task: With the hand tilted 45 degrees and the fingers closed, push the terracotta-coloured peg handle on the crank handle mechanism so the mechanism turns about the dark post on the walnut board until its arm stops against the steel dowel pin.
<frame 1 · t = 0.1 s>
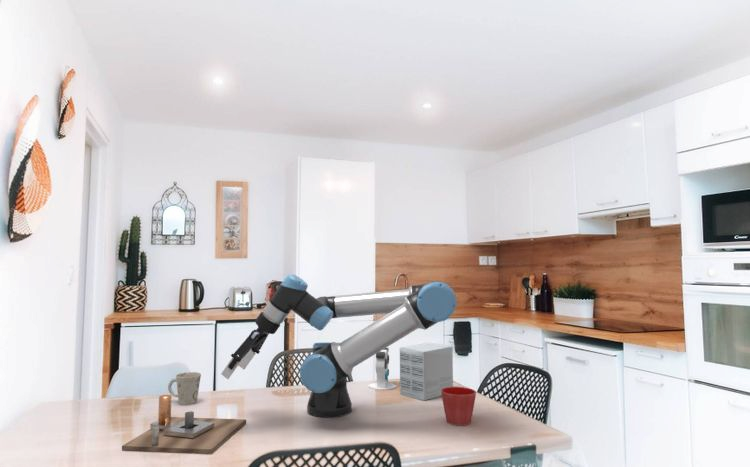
hand: (233, 371, 156), 15 cm above the table, tool tilted 35°, fingers open, 13 cm apart
mug: (182, 402, 176), on the table
post board: (188, 435, 141), on the table
flower pot: (458, 422, 154), on the table
white grey upright piece: (382, 387, 198), on the table
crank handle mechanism: (178, 413, 142), point 6 cm above the table, hinge at 0.0°
gray vented cabinet: (426, 394, 188), on the table
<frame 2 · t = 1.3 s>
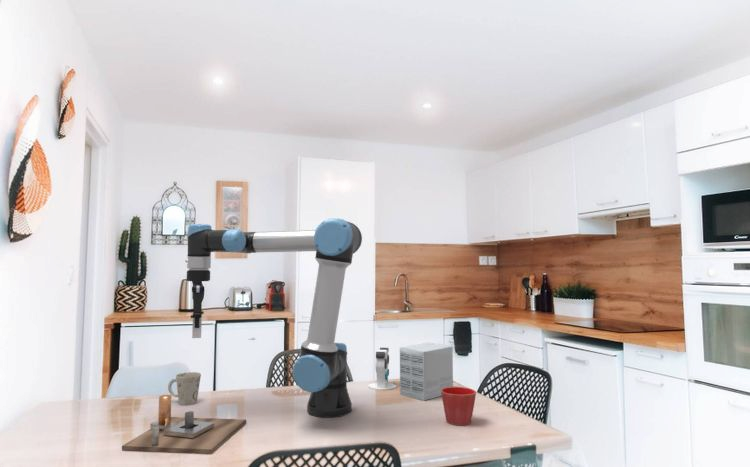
hand: (196, 335, 163), 26 cm above the table, tool pointing down, fingers open, 10 cm apart
nothing on the table moved.
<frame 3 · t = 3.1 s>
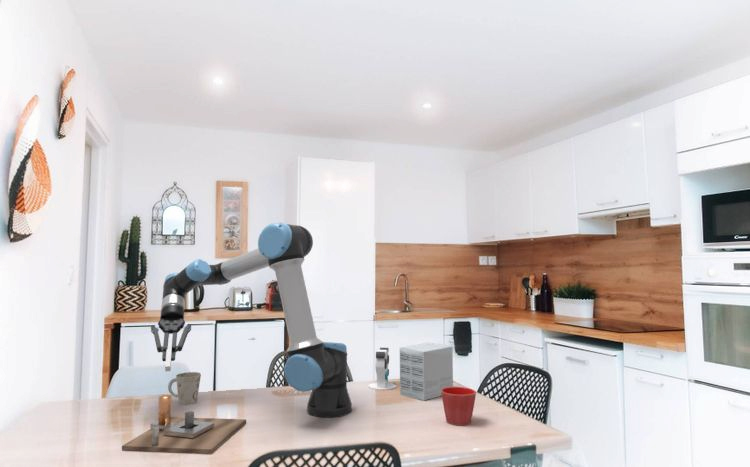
hand: (167, 368, 153), 17 cm above the table, tool tilted 45°, fingers closed
nothing on the table moved.
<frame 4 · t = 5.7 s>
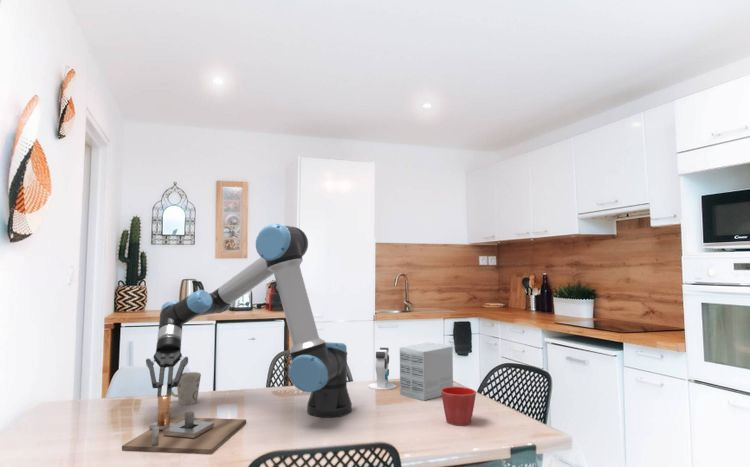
hand: (162, 406, 146), 7 cm above the table, tool tilted 45°, fingers closed
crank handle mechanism: (178, 413, 142), point 6 cm above the table, hinge at 2.8°, touching gripper
everything else where it was.
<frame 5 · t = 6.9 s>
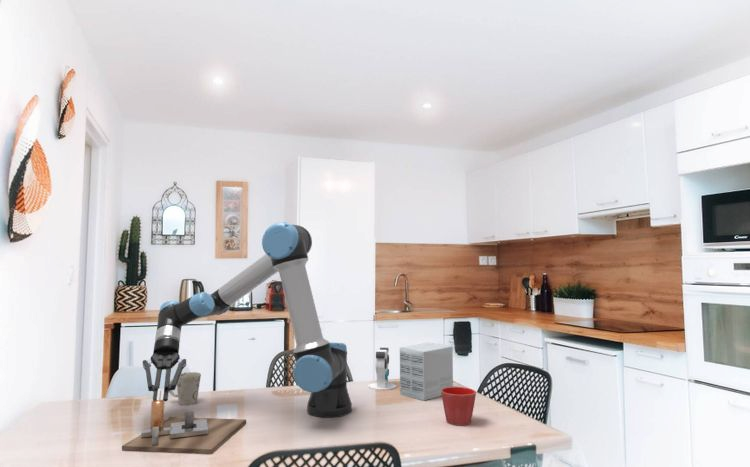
hand: (158, 410, 141), 7 cm above the table, tool tilted 45°, fingers closed
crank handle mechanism: (175, 415, 140), point 6 cm above the table, hinge at 37.2°, touching gripper
everything else where it was.
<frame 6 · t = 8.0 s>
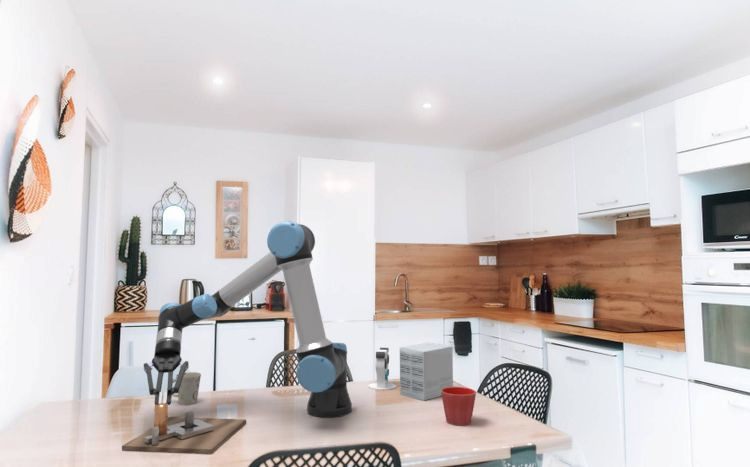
hand: (161, 414, 138), 7 cm above the table, tool tilted 45°, fingers closed, pressing on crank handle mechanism
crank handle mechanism: (177, 417, 138), point 6 cm above the table, hinge at 65.9°, touching gripper
everything else where it was.
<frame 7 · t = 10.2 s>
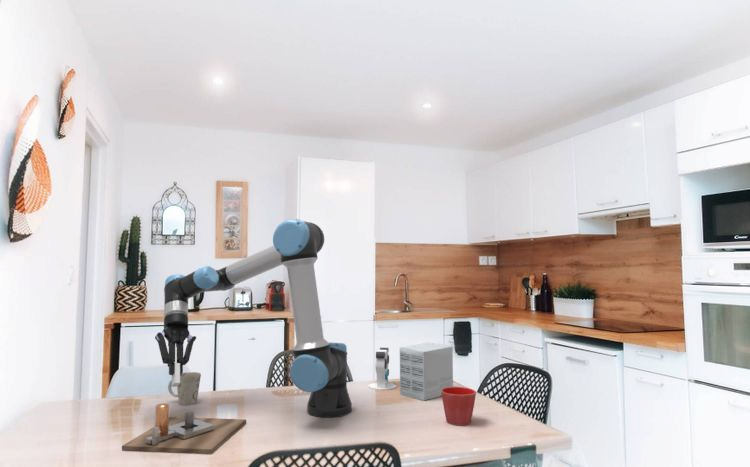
hand: (175, 384, 150), 13 cm above the table, tool tilted 35°, fingers closed
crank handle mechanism: (177, 417, 138), point 6 cm above the table, hinge at 70.2°, touching post board
everything else where it was.
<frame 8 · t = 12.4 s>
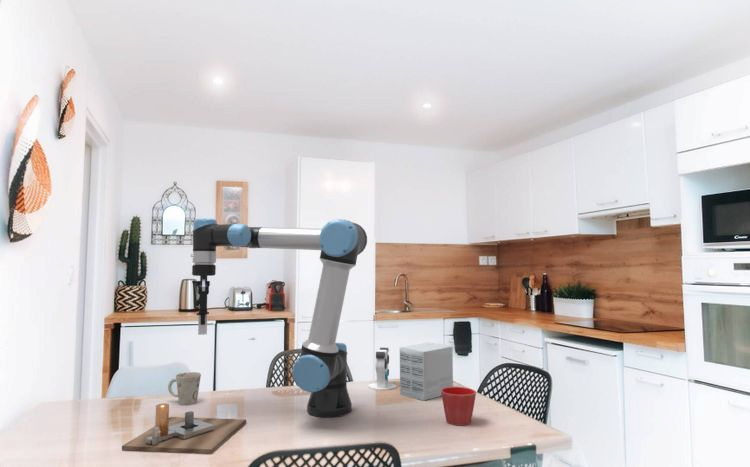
hand: (202, 334, 163), 26 cm above the table, tool pointing down, fingers closed
nothing on the table moved.
at the end: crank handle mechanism at +70° (first picture: +0°) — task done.
